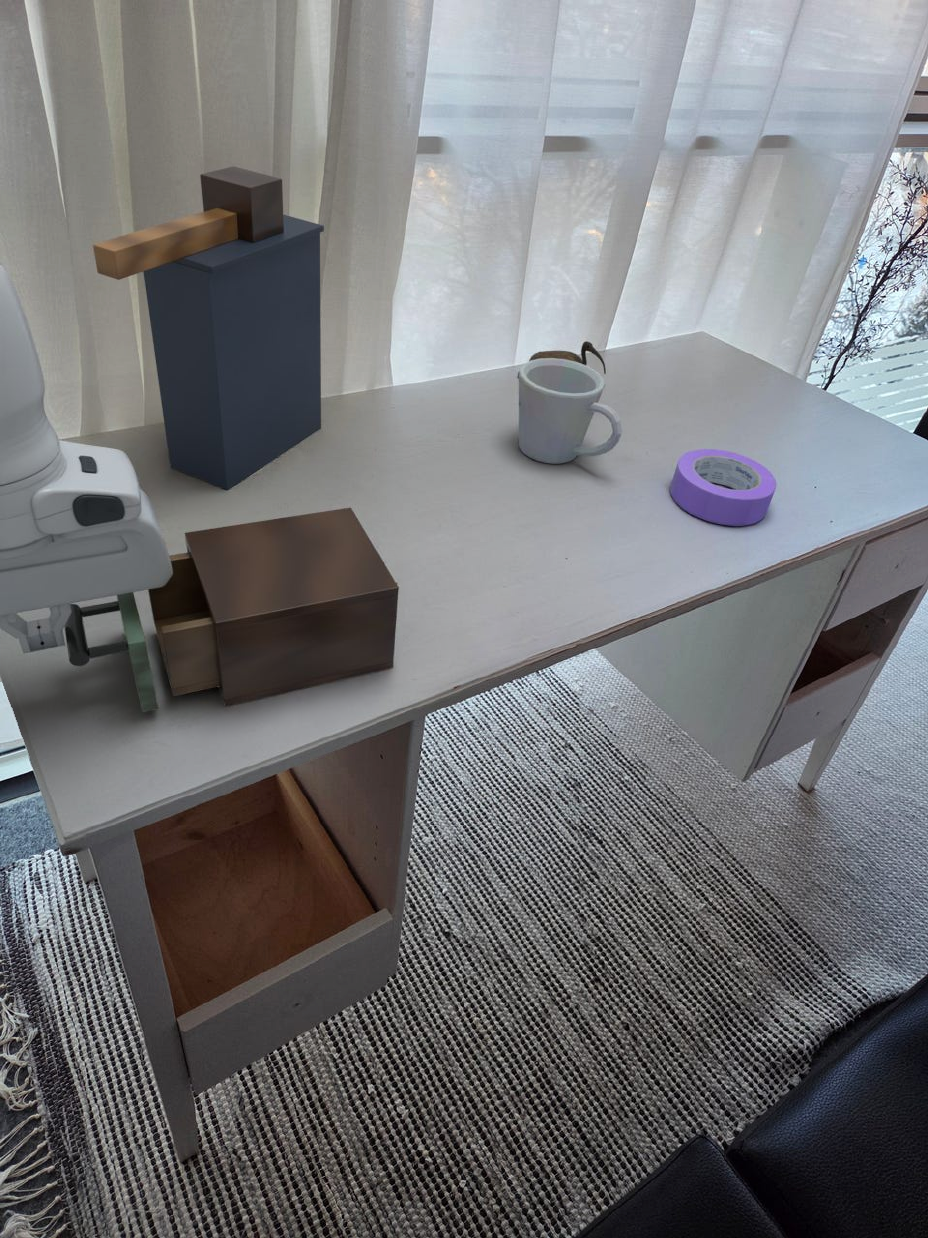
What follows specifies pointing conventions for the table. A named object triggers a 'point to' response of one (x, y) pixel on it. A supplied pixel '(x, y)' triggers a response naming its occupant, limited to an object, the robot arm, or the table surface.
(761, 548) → the table surface
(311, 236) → the stand
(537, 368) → the mug
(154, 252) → the mallet
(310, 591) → the cabinet
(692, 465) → the tape roll
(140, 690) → the drawer
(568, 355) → the figurine
